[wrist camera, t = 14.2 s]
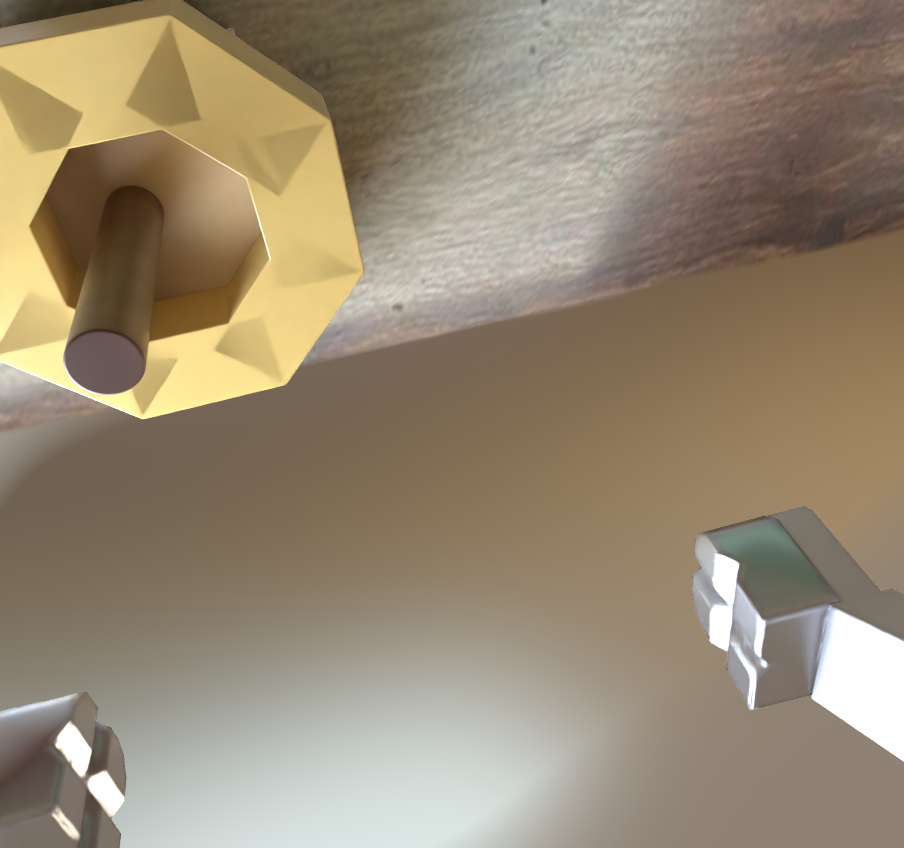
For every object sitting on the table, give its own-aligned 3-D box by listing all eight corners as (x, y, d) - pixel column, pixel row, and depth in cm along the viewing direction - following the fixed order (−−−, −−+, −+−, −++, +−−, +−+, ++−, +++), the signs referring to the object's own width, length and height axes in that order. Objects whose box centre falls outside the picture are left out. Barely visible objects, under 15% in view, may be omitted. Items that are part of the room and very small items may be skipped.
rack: (233, 27, 26) (243, 133, 18) (301, 285, 32) (334, 465, 23) (-66, 83, 25) (-213, 224, 17) (56, 339, 31) (-7, 547, 22)
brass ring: (293, -29, 24) (302, -13, 22) (373, 323, 32) (385, 361, 29) (-130, 52, 23) (-166, 78, 21) (51, 399, 30) (38, 445, 28)
